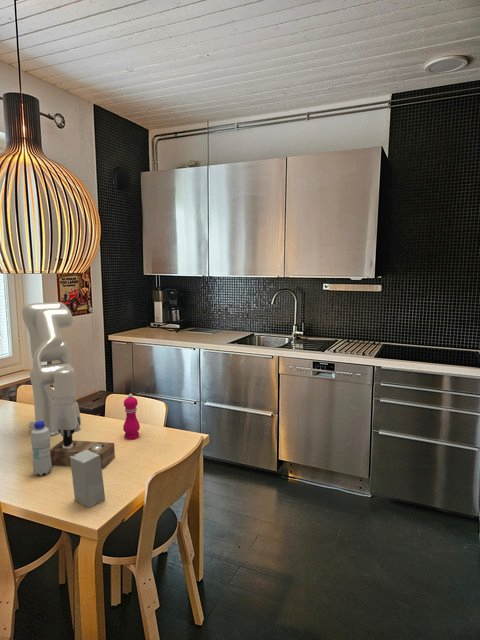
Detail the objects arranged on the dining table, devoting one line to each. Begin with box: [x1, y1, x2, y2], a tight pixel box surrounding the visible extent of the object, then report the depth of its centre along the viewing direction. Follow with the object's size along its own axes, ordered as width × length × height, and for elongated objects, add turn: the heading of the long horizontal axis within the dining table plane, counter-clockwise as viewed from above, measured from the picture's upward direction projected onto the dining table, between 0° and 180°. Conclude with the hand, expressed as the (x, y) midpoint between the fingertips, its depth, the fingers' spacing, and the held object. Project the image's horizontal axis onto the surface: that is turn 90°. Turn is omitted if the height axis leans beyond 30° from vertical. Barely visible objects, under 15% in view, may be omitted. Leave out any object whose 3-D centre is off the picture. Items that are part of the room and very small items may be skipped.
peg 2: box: [91, 444, 102, 451], centre depth 164 cm, size 4×4×6 cm
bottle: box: [30, 421, 53, 477], centre depth 155 cm, size 7×7×20 cm
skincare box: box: [70, 450, 106, 508], centre depth 137 cm, size 8×7×16 cm
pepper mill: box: [122, 393, 141, 441], centre depth 187 cm, size 7×7×20 cm
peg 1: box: [62, 443, 73, 449], centre depth 166 cm, size 4×4×6 cm
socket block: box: [50, 439, 116, 470], centre depth 165 cm, size 22×10×6 cm, turn 82°
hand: (68, 444), depth 165 cm, fingers closed
